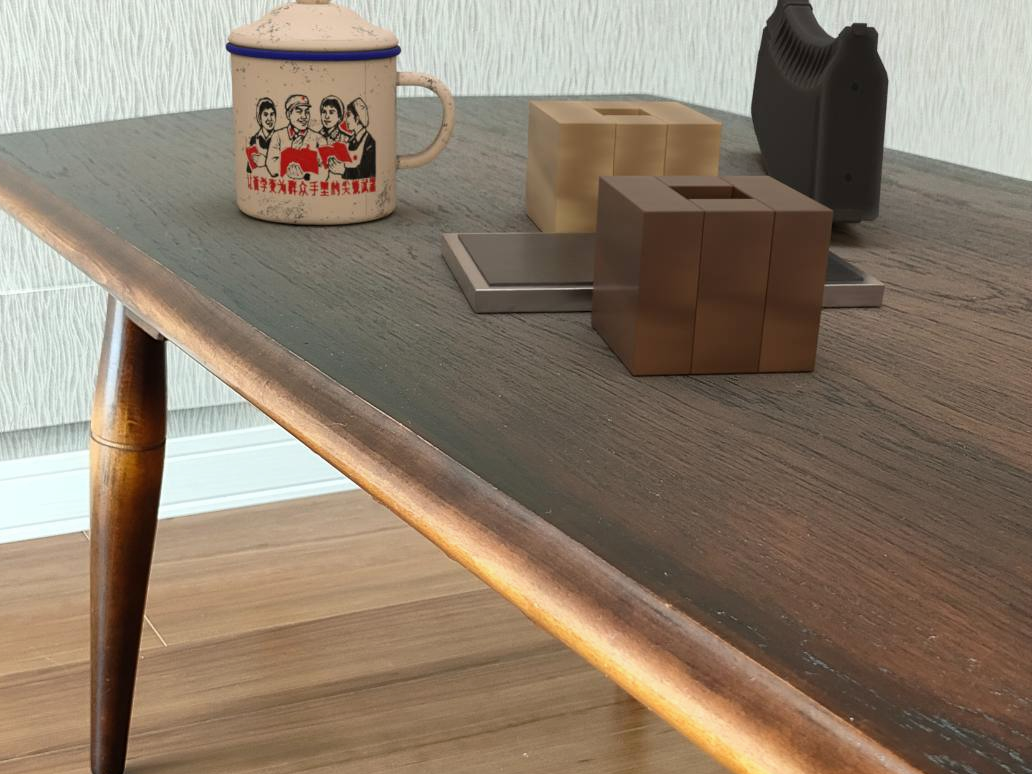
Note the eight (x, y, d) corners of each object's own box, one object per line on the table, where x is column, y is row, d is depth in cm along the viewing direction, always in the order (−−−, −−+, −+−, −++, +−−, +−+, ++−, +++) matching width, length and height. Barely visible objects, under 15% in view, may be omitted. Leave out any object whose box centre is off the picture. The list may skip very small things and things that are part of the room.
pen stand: (668, 212, 81) (677, 101, 79) (712, 244, 74) (722, 123, 71) (524, 213, 80) (528, 100, 77) (554, 246, 72) (559, 122, 70)
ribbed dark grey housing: (910, 67, 68) (832, -126, 91) (841, 64, 68) (780, -127, 91) (847, 369, 79) (792, 131, 102) (788, 367, 80) (746, 129, 102)
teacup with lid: (224, 226, 75) (212, -16, 70) (241, 193, 83) (232, -25, 78) (456, 229, 75) (461, -9, 71) (451, 196, 84) (454, -20, 79)
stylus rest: (754, 321, 60) (769, 175, 58) (814, 371, 54) (834, 210, 52) (590, 324, 59) (598, 175, 57) (632, 376, 53) (644, 211, 50)
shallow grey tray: (794, 250, 73) (797, 228, 73) (882, 306, 63) (885, 281, 63) (441, 253, 70) (441, 230, 70) (474, 313, 60) (475, 287, 60)
